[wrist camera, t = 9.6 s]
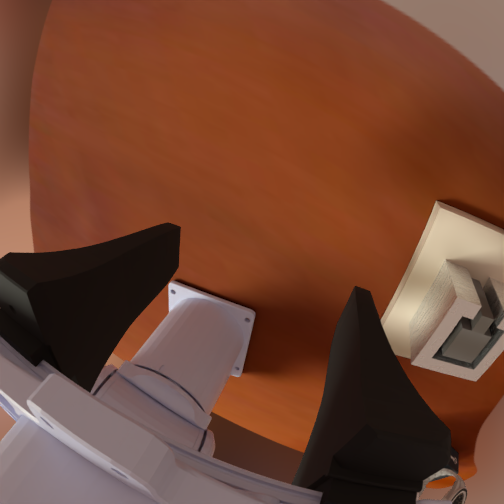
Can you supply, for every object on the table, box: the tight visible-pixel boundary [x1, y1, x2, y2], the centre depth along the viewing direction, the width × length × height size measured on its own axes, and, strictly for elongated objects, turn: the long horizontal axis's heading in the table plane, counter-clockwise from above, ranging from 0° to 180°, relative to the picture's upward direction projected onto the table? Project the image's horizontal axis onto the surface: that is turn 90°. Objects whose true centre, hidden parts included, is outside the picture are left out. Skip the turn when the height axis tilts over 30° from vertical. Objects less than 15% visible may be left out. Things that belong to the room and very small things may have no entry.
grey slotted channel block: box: [409, 259, 504, 381], centre depth 17 cm, size 6×6×4 cm
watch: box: [419, 447, 467, 504], centre depth 25 cm, size 6×8×11 cm
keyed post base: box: [380, 200, 504, 363], centre depth 17 cm, size 12×9×5 cm
